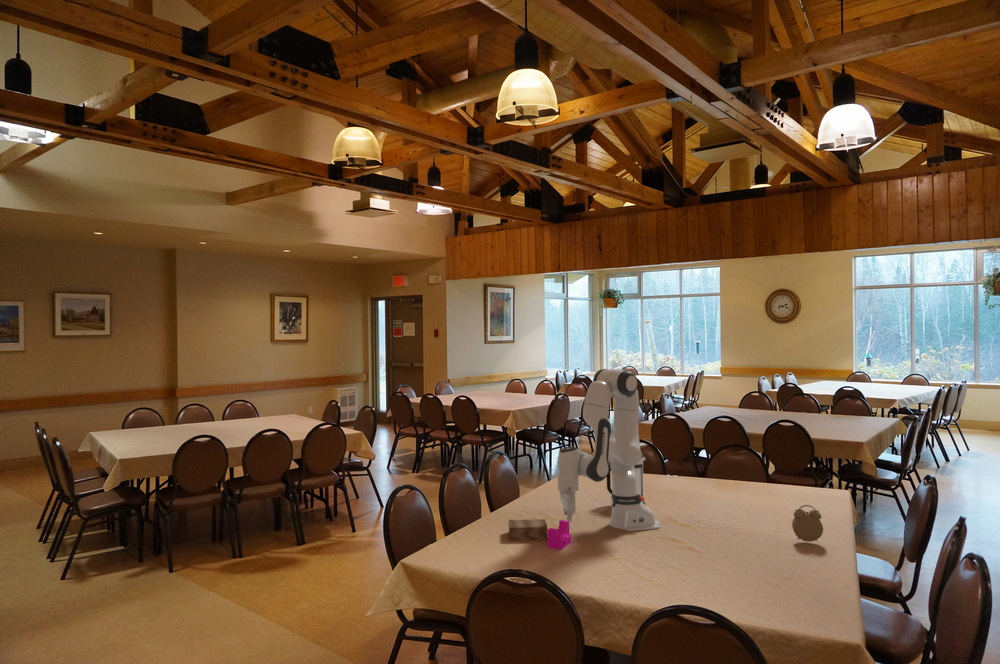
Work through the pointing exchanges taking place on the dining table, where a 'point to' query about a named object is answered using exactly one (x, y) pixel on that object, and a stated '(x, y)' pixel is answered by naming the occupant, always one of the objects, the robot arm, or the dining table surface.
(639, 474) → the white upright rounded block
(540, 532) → the walnut plinth
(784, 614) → the dining table surface
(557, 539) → the toy block
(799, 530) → the alarm clock
